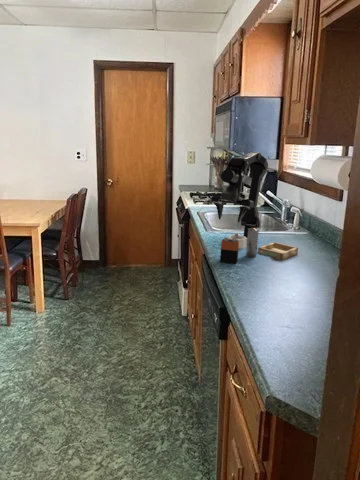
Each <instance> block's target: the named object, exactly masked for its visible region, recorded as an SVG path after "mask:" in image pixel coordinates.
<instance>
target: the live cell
mask: <svg viewBox="0 0 360 480" xmlns="http://www.w3.org/2000/svg"><path fill="white" fill-rule="evenodd" d="M259 232H260V231H259V228H249V229H248V237H247V241H246V248H245V249H246V251H245V252H246V253H245V257H247V258H257V253H258V241H259Z"/></svg>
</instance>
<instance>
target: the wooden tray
mask: <svg viewBox="0 0 360 480" xmlns="http://www.w3.org/2000/svg"><path fill="white" fill-rule="evenodd" d="M298 251H299V247H296V246H292V245H288V244H284V243H280V242H272V243H271V242H270V243H268V244H265V245H262V246H259V247H257V253H258V254H263V255H265V256H270V257H271V258H272V259H275V260H279V261H284V260H287V259H289V258H292V257H294V256H297V255H298Z"/></svg>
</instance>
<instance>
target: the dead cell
mask: <svg viewBox="0 0 360 480" xmlns="http://www.w3.org/2000/svg"><path fill="white" fill-rule="evenodd" d="M234 235H235V236H234V238H236V239H240V238H241V236H242V235H241V234H240V233H239V232H237V233H234Z"/></svg>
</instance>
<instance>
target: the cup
mask: <svg viewBox="0 0 360 480" xmlns="http://www.w3.org/2000/svg"><path fill="white" fill-rule="evenodd" d="M234 236H235V234H231V235H229V236H227V238H228V239H231V240H232V238H234ZM237 240H239V248H238V250H242V249H247V238H246V237H245V236H244V235H241V238H240V239H237Z"/></svg>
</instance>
